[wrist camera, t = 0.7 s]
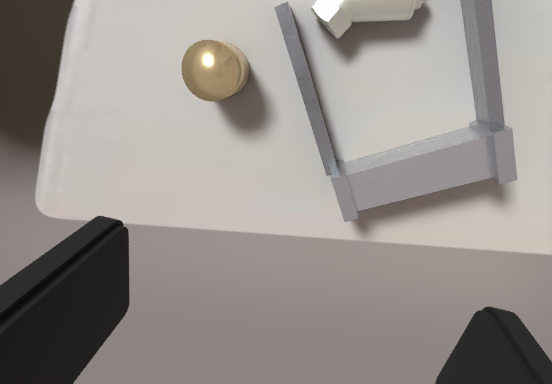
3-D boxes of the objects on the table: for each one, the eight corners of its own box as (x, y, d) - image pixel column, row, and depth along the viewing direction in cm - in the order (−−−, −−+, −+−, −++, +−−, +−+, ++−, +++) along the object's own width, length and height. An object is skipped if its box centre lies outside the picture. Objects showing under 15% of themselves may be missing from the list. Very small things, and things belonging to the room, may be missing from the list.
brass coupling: (238, 34, 31) (224, 30, 26) (256, 85, 33) (246, 90, 28) (193, 53, 32) (172, 52, 28) (212, 102, 34) (196, 109, 29)
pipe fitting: (429, -6, 28) (379, -71, 27) (447, -13, 25) (391, -87, 23) (359, 64, 31) (310, 10, 30) (366, 68, 28) (311, 7, 26)
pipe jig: (468, -70, 26) (498, -96, 21) (495, 162, 32) (523, 178, 28) (278, 11, 30) (270, 3, 25) (337, 203, 36) (339, 223, 32)
